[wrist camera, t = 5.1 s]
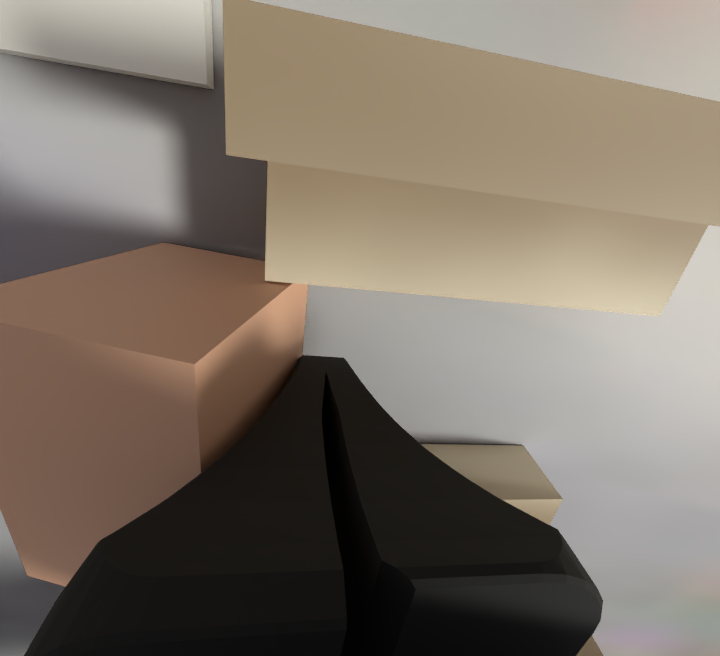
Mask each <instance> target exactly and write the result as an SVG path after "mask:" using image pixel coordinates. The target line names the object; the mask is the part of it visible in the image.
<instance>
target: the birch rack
mask: <svg viewBox="0 0 720 656" xmlns="http://www.w3.org/2000/svg"><path fill="white" fill-rule="evenodd" d="M223 38H224V86H225V133H226V155H229V156H236V157H243V158H250V159H257V160H264V161H268V167H267V210H266V252H265V281H274V282H285V283H296V284H307V285H318V286H329V287H340V288H352V289H363V290H374V291H385V292H396V293H407V294H418V295H429V296H440V297H451V298H462V299H474V300H485V301H496V302H507V303H518V304H529V305H540V306H551V307H562V308H573V309H585V310H596V311H607V312H618V313H629V314H640V315H651V316H660V315H661V313H662V311H663V310H664V308H665V306H666V304H667V302H668V300H669V298H670V296H671V294H672V293H673V291H674V289H675V287H676V285H677V283H678V281H679V279H680V278H681V276H682V274H683V272H684V270H685V268H686V266H687V264H688V262H689V261H690V259H691V257H692V255H693V253H694V251H695V249H696V247H697V246H698V244H699V242H700V240H701V238H702V236H703V234H704V232H705V230H706V229H707V227H708V225H713V226H720V102H718V101H713V100H709V99H704V98H699V97H695V96H690V95H685V94H681V93H676V92H672V91H667V90H662V89H658V88H653V87H648V86H644V85H639V84H634V83H630V82H625V81H621V80H616V79H611V78H607V77H602V76H597V75H593V74H588V73H584V72H579V71H574V70H570V69H565V68H560V67H556V66H551V65H546V64H542V63H537V62H533V61H528V60H523V59H519V58H514V57H509V56H505V55H500V54H495V53H491V52H486V51H482V50H477V49H472V48H468V47H463V46H458V45H454V44H449V43H444V42H440V41H435V40H431V39H426V38H421V37H417V36H412V35H407V34H403V33H398V32H394V31H389V30H384V29H380V28H375V27H370V26H366V25H361V24H356V23H352V22H347V21H343V20H338V19H333V18H329V17H324V16H319V15H315V14H310V13H305V12H301V11H296V10H292V9H287V8H282V7H278V6H273V5H268V4H264V3H259V2H255V1H250V0H223ZM421 445H422V446H423V447H425V448H426V449H427V450H428V451H430V452H431V453H432V454H434V455H435V456H436V457H438V458H439V459H440V460H442V461H443V462H444V463H446V464H447V465H449V466H450V467H451V468H453V469H454V470H455V471H457V472H458V473H460V474H461V475H463V476H464V477H466V478H467V479H469V480H470V481H472V482H474V483H475V484H477V485H478V486H480V487H482V488H483V489H485V490H487V491H488V492H490V493H491V494H493V495H495V496H496V497H498V498H500V499H501V500H503V501H505V502H507V503H509V504H511V505H512V506H514V507H516V508H518V509H520V510H522V511H524V512H526V513H527V514H529V515H531V516H533V517H535V518H537V519H539V520H541V521H543V522H544V523H546V524H548V525H549V524H550V522H551V521H552V519H553V517H554V515H555V513H556V511H557V509H558V507H559V505H560V504H561V502H562V500H563V499H562V497H561V496H560V495H559V493H558V492H557V491H556V489H555V488H554V486H553V485H552V484H551V482H550V481H549V480H548V478H547V477H546V476H545V474H544V473H543V471H542V470H541V469H540V467H539V466H538V465H537V463H536V462H535V461H534V459H533V458H532V456H531V455H530V454H529V452H528V451H527V450H526V448H525V447H524V446H514V445H456V444H421ZM576 656H603V654H602V652H601V651H600V649H599V647H598V646H597V644H596V642H595V640H594V639H593V637H592V635H591V637H590V638H589V639H588V641H587V642H586V643H585V645H584V646H583V647H582V649H581V650H580V651H579V653H578V654H577V655H576Z"/></svg>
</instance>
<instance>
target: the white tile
mask: <svg viewBox="0 0 720 656" xmlns="http://www.w3.org/2000/svg"><path fill="white" fill-rule="evenodd" d="M0 53H5V54H11V55H16V56H22V57H28V58H34V59H40V60H45V61H51V62H57V63H63V64H69V65H74V66H80V67H86V68H92V69H97V70H103V71H109V72H115V73H121V74H126V75H132V76H138V77H144V78H150V79H155V80H161V81H167V82H173V83H178V84H184V85H190V86H196V87H202V88H207V89H213V90H214V70H213V39H212V7H211V0H0Z"/></svg>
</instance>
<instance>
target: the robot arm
mask: <svg viewBox="0 0 720 656" xmlns="http://www.w3.org/2000/svg"><path fill="white" fill-rule="evenodd" d="M602 604H603V600H602V597H601V595H600V593H599V591H598V589H597V587H596V586H595V584H594V583H593V581H592V580H591V578H590V577H589V575H588V574H587V572H586V571H585V569H584V568H583V566H582V565H581V563H580V562H579V560H578V558H577V557H576V555H575V554H574V552H573V551H572V550H571V548H570V547H569V545H568V544H567V542H566V541H565V539H564V538H563V536H562V535H561V534H560V532H559V531H558V529H556V528H554V527H552V526H550V525H548V524H546V523H544V522H543V521H541V520H539V519H537V518H535V517H533V516H531V515H529V514H527V513H526V512H524V511H522V510H520V509H518V508H516V507H514V506H512V505H511V504H509V503H507V502H505V501H503V500H501V499H500V498H498V497H496V496H495V495H493V494H491V493H490V492H488V491H487V490H485V489H483V488H482V487H480V486H478V485H477V484H475V483H474V482H472V481H470V480H469V479H467V478H466V477H464V476H463V475H461V474H460V473H458V472H457V471H455V470H454V469H453V468H451V467H450V466H449V465H447V464H446V463H444V462H443V461H442V460H440V459H439V458H438V457H436V456H435V455H434V454H432V453H431V452H430V451H428V450H427V449H426V448H425V447H423V446H422V445H421V444H420V443H419V442H417V441H416V440H415V439H414V438H413V437H412V436H411V435H410V434H408V433H407V432H406V431H405V430H404V429H403V428H402V427H401V426H400V425H399V424H397V423H396V422H395V421H394V420H393V419H392V417H391V416H390V415H389V414H388V413H387V412H386V411H385V410H384V409H383V408H382V407H381V406H380V405H379V403H378V402H377V401H376V400H375V399H374V397H373V396H372V395H371V394H370V392H369V391H368V390H367V389H366V387H365V386H364V385H363V384H362V382H361V381H360V379H359V378H358V377H357V375H356V374H355V373H354V371H353V370H352V368H351V367H350V365H349V364H348V362H347V361H346V360H345V359H344V358H337V357H321V356H305V355H302V356H301V357H300V358H298V362H297V364H296V367H295V369H294V371H293V373H292V375H291V376H290V378H289V380H288V381H287V383H286V384H285V386H284V387H283V389H282V390H281V392H280V394H279V395H278V396H277V398H276V399H275V400H274V402H273V403H272V404H271V405H270V407H269V408H268V409H267V410H266V412H265V413H264V414H263V415H262V417H261V418H260V419H259V420H258V421H257V422H256V423H255V424H254V425H253V427H252V428H251V429H250V430H249V431H248V432H247V433H246V434H245V435H244V436H243V437H242V438H241V439H240V440H239V441H238V442H237V443H236V444H234V445H233V446H232V447H231V448H230V449H229V450H228V451H227V452H226V453H225V454H224V455H222V456H221V457H220V458H219V459H218V460H217V461H215V462H214V463H213V464H212V465H211V466H209V467H208V468H207V469H206V470H204V471H203V472H202V473H200V474H199V475H198V476H196V477H195V478H194V479H192V480H191V481H190V482H189V483H187V484H186V485H185V486H183V487H182V488H181V489H179V490H178V491H177V492H175V493H174V494H173V495H171V496H170V497H168V498H167V499H165V500H164V501H163V502H161V503H160V504H158V505H157V506H155V507H153V508H152V509H150V510H149V511H147V512H145V513H144V514H142V515H141V516H139V517H137V518H136V519H134V520H133V521H131V522H130V523H128V524H126V525H125V526H123V527H122V528H120V529H118V530H117V531H115V532H113V533H112V534H110V535H108V536H107V537H105V538H103V539H102V540H100V541H99V542H98V543H97V544H96V545H95V547H94V548H93V550H92V551H91V552H90V554H89V555H88V556H87V558H86V559H85V561H84V562H83V563H82V565H81V566H80V567H79V569H78V570H77V572H76V573H75V574H74V576H73V577H72V579H71V580H70V581H69V583H68V584H67V586H66V587H65V589H64V590H63V591H62V593H61V594H60V596H59V597H58V599H57V600H56V602H55V604H54V605H53V607H52V609H51V610H50V612H49V614H48V615H47V617H46V619H45V620H44V622H43V624H42V626H41V627H40V629H39V631H38V633H37V634H36V636H35V638H34V639H33V641H32V643H31V645H30V646H29V648H28V650H27V652H26V653H25V655H24V656H576V655H577V654H578V653H579V651H580V650H581V649H582V647H583V646H584V645H585V643H586V642H587V641H588V639H589V638H590V637H591V635H592V634H593V633H594V631H595V629H596V627H597V625H598V624H599V622H600V619H601V613H602Z"/></svg>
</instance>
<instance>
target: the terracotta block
mask: <svg viewBox="0 0 720 656" xmlns="http://www.w3.org/2000/svg"><path fill="white" fill-rule="evenodd" d="M307 293H308V285H307V284H296V283H285V282H274V281H265V261H261V260H256V259H250V258H245V257H239V256H234V255H229V254H223V253H218V252H212V251H207V250H202V249H196V248H191V247H185V246H180V245H175V244H169V243H164V242H163V243H159V244H155V245H151V246H147V247H143V248H140V249H136V250H132V251H128V252H124V253H120V254H116V255H112V256H108V257H104V258H100V259H96V260H92V261H88V262H84V263H80V264H76V265H73V266H69V267H65V268H61V269H57V270H53V271H49V272H45V273H41V274H37V275H33V276H29V277H25V278H21V279H17V280H13V281H9V282H6V283H2V284H0V509H1V512H2V514H3V517H4V519H5V522H6V524H7V527H8V529H9V532H10V534H11V537H12V539H13V542H14V544H15V546H16V549H17V551H18V554H19V556H20V559H21V561H22V564H23V566H24V569H25V571H26V574H27V576H30V577H33V578H37V579H40V580H44V581H47V582H51V583H54V584H58V585H61V586H65V587H66V586H67V584H68V583H69V581H70V580H71V579H72V577H73V576H74V574H75V573H76V572H77V570H78V569H79V567H80V566H81V565H82V563H83V562H84V561H85V559H86V558H87V556H88V555H89V554H90V552H91V551H92V550H93V548H94V547H95V545H96V544H97V543H98V542H99V541H100V540H102V539H103V538H105V537H107V536H108V535H110V534H112V533H113V532H115V531H117V530H118V529H120V528H122V527H123V526H125V525H126V524H128V523H130V522H131V521H133V520H134V519H136V518H137V517H139V516H141V515H142V514H144V513H145V512H147V511H149V510H150V509H152V508H153V507H155V506H157V505H158V504H160V503H161V502H163V501H164V500H165V499H167V498H168V497H170V496H171V495H173V494H174V493H175V492H177V491H178V490H179V489H181V488H182V487H183V486H185V485H186V484H187V483H189V482H190V481H191V480H192V479H194V478H195V477H196V476H198V475H199V474H200V473H202V472H203V471H204V470H206V469H207V468H208V467H209V466H211V465H212V464H213V463H214V462H215V461H217V460H218V459H219V458H220V457H221V456H222V455H224V454H225V453H226V452H227V451H228V450H229V449H230V448H231V447H232V446H233V445H234V444H236V443H237V442H238V441H239V440H240V439H241V438H242V437H243V436H244V435H245V434H246V433H247V432H248V431H249V430H250V429H251V428H252V427H253V425H254V424H255V423H256V422H257V421H258V420H259V419H260V418H261V417H262V415H263V414H264V413H265V412H266V410H267V409H268V408H269V407H270V405H271V404H272V403H273V402H274V400H275V399H276V398H277V396H278V395H279V394H280V392H281V390H282V389H283V387H284V386H285V384H286V383H287V381H288V380H289V378H290V376H291V375H292V373H293V371H294V369H295V367H296V364H297V362H298V358H300V357H301V356H302V352H303V340H304V328H305V317H306V305H307Z"/></svg>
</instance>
